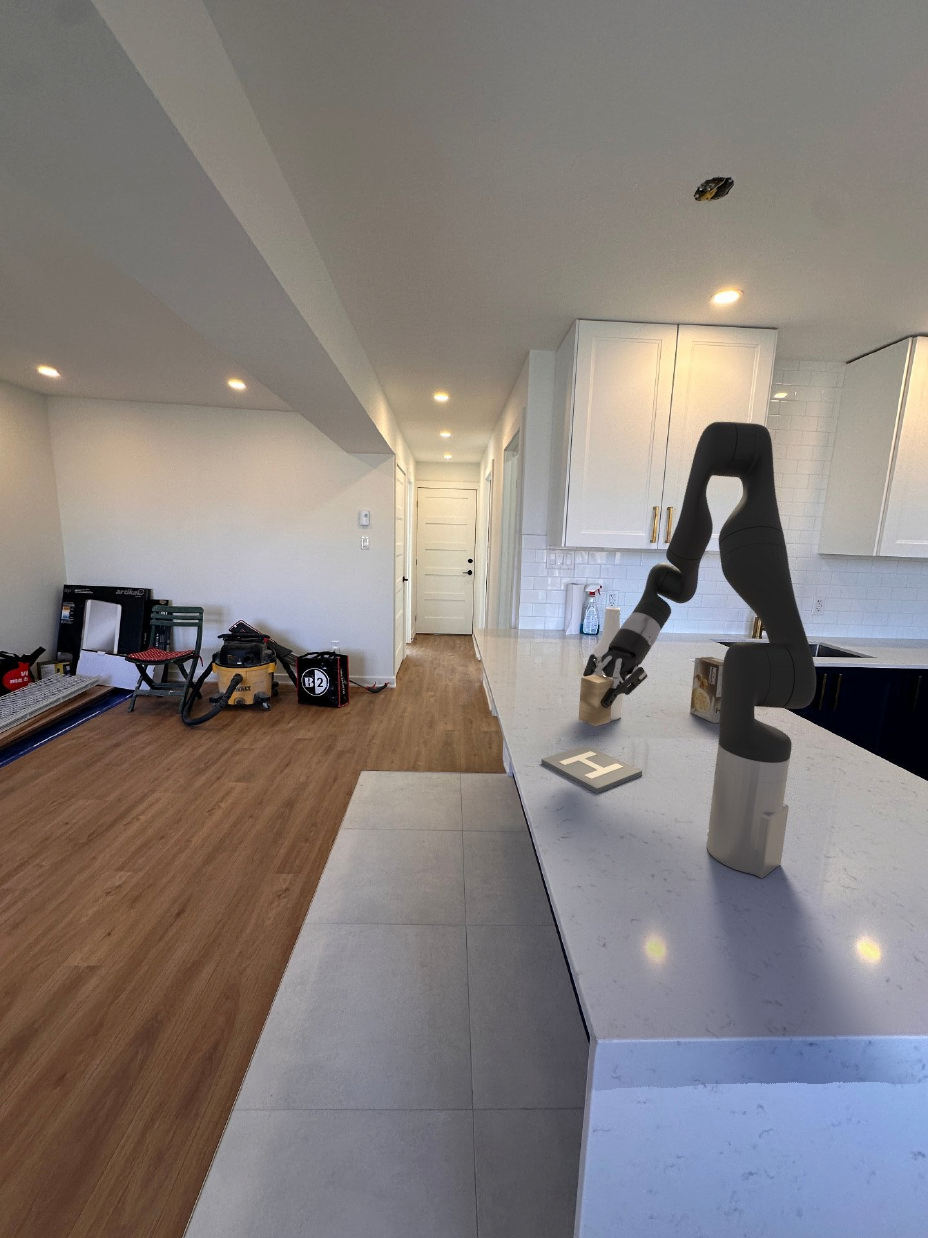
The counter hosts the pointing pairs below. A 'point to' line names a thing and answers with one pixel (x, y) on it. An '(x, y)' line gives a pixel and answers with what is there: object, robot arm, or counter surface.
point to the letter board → (591, 768)
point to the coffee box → (707, 688)
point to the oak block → (594, 699)
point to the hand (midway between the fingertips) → (593, 702)
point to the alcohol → (602, 647)
